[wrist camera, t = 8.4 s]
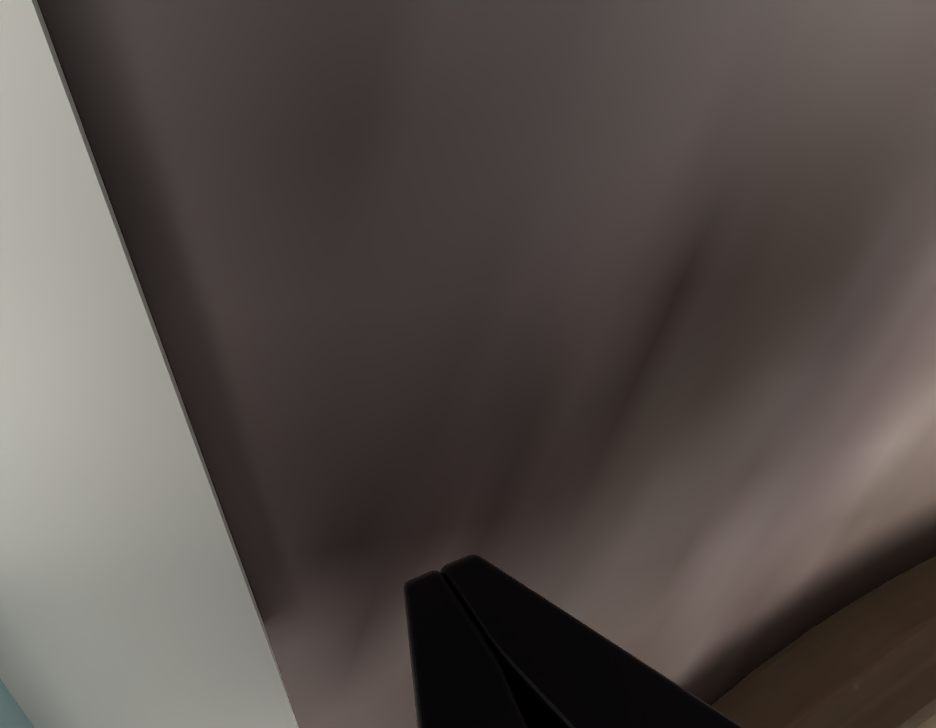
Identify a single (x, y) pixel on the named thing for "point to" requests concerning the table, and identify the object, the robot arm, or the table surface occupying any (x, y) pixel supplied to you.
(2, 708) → the pale teal cube
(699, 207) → the table surface
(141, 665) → the bench slab
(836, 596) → the table surface
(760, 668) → the plant saucer
